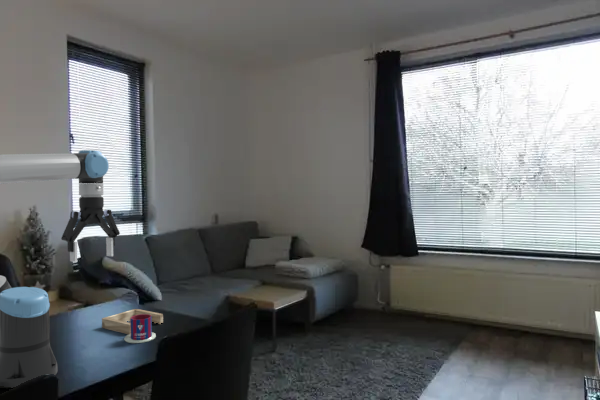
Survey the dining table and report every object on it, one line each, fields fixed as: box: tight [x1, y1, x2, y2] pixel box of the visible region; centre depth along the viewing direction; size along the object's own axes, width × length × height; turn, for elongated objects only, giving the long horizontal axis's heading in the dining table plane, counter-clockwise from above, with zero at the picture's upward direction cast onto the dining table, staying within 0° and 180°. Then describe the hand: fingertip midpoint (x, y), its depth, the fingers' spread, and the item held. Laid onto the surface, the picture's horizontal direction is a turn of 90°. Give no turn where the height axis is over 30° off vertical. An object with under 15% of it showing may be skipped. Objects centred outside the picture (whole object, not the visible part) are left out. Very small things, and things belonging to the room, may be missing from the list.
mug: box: [129, 314, 153, 340], centre depth 153 cm, size 7×10×7 cm
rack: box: [101, 308, 164, 335], centre depth 166 cm, size 15×15×4 cm
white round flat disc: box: [123, 331, 157, 344], centre depth 152 cm, size 10×10×1 cm
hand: (92, 258), depth 153 cm, fingers open, 13 cm apart
